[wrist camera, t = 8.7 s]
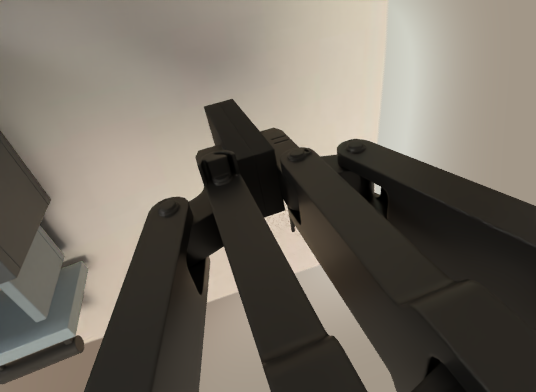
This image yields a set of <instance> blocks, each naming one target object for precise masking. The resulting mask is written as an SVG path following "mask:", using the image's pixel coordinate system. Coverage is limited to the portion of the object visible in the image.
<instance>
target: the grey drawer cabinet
mask: <svg viewBox="0 0 536 392" xmlns="http://www.w3.org/2000/svg"><path fill="white" fill-rule="evenodd" d="M50 201H51V199H50V198H49V197H48V195H47V194H46V192H45V191H44V190H43V188H42V187H41V186H40V184H39V183H38V182H37V180H36V179H35V178H34V176H33V175H32V173H31V172H30V171H29V169H28V168H27V167H26V165H25V164H24V163H23V161H22V160H21V159H20V157H19V156H18V155H17V153H16V152H15V150H14V149H13V148H12V146H11V145H10V144H9V142H8V141H7V140H6V138H5V137H4V136H3V134H2V133H1V131H0V284H3V283H5V282H8V281H11V280H14V279H16V278H17V277H18V275H19V272H20V270H21V267H22V265H23V263H24V260H25V258H26V256H27V254H28V251H29V249H30V247H31V244H32V242H33V240H34V237H35V235H36V233H37V230H38V228H39V226H40V223H41V221H42V219H43V216H44V214H45V212H46V209H47V207H48V205H49V203H50Z"/></svg>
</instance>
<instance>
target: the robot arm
mask: <svg viewBox="0 0 536 392" xmlns="http://www.w3.org/2000/svg"><path fill="white" fill-rule="evenodd" d="M204 109H205V112H206V116H207V119H208V123H209V126H210V129H211V133H212V136H213V140H214V143H215V146H213V147H210V148H206V149H203V150H200V151H198V153H197V155H196V161H197V165H198V168H199V171H200V174H201V177H202V180H203V183H204V189H203V191H202V192H201V194H200V195H198V196H197V197H196V198H194V199H193V200H191V201H189V202H188V200H186V199H185V198H182V197H171V198H168V199H164V200H162V201H160V202H158V203H157V204H156V205H154V206H153V207H152V208H151V210H150V211H149V213H148V216H147V219H146V222H145V224H144V227H143V230H142V233H141V235H140V238H139V241H138V244H137V246H136V249H135V252H134V255H133V257H132V260H131V263H130V266H129V269H128V271H127V274H126V277H125V280H124V282H123V285H122V288H121V291H120V293H119V296H118V299H117V302H116V304H115V307H114V310H113V313H112V315H111V318H110V321H109V324H108V327H107V329H106V332H105V335H104V338H103V340H102V343H101V347H100V349H99V351H98V354H97V357H96V360H95V363H94V365H93V368H92V371H91V374H90V377H89V379H88V382H87V385H86V387H85V390H84V392H199V382H200V372H201V360H202V349H203V337H204V326H205V315H206V304H207V292H208V281H209V270H210V258H209V255H211V254H213V253H214V252H216V251H217V250H219V249H220V248H222V247H224V248H225V251H226V254H227V257H228V260H229V263H230V266H231V269H232V272H233V275H234V279H235V282H236V285H237V288H238V291H239V294H240V297H241V300H242V303H243V306H244V309H245V312H246V315H247V319H248V322H249V325H250V327H251V331H252V334H253V337H254V340H255V343H256V346H257V349H258V352H259V356H260V358H261V362H262V365H263V368H264V372H265V375H266V378H267V381H268V384H269V387H270V390H271V392H367V390H366V388H365V387H364V385H363V383H362V381H361V379H360V377H359V376H358V374H357V372H356V370H355V369H354V367H353V365H352V363H351V362H350V360H349V358H348V356H347V355H346V353H345V351H344V349H343V348H342V346H341V345H340V343H339V341H338V340H337V339H336V338H335V337H334V336H329V335H328V334H327V332H326V331H325V330H324V327H323V326H322V324H321V322H320V320H319V318H318V316H317V315H316V313H315V311H314V309H313V307H312V306H311V304H310V302H309V300H308V298H307V296H306V294H305V293H304V291H303V289H302V287H301V285H300V283H299V281H298V280H297V278H296V276H295V274H294V272H293V270H292V269H291V267H290V265H289V263H288V261H287V259H286V257H285V256H284V254H283V252H282V250H281V248H280V246H279V245H278V243H277V241H276V239H275V237H274V235H273V233H272V232H271V230H270V228H269V226H268V224H267V222H266V221H265V219H264V217H267V216H270V215H273V214H276V213H279V212H282V211H285V207H284V201H285V203H286V204H287V206H288V212H289V218H290V224H291V229H292V232H295V228H294V227H295V226H296V228H297V229H298V231H299V232H300V234H301V235H302V237H303V238H304V240H305V241H306V243H307V245H308V246H309V248H310V249H311V251H312V252H313V254H314V255H315V257H316V259H317V260H318V262H319V263H320V265H321V266H322V268H323V269H324V271H325V272H326V274H327V275H328V277H329V279H330V280H331V281H332V283H333V285H334V286H335V288H336V289H337V291H338V293H339V294H340V296H341V297H342V298H343V300H344V302H345V303H346V305H347V306H348V308H349V310H350V311H351V313H352V314H353V315H354V317H355V319H356V320H357V322H358V323H359V325H360V327H361V328H362V330H363V331H364V333H365V334H366V336H367V337H368V339H369V340H370V342H371V344H372V345H373V346H374V348H375V350H376V351H377V353H378V354H379V356H380V357H381V359H382V361H383V362H384V363H385V365H386V367H387V368H388V370H389V372H390V374H391V376H392V379H393V381H394V385H395V388H396V391H397V392H536V206H534V205H531V204H529V203H527V202H524V201H521V200H519V199H516V198H514V197H511V196H509V195H506V194H503V193H501V192H498V191H496V190H493V189H491V188H488V187H486V186H483V185H480V184H478V183H475V182H473V181H470V180H467V179H465V178H462V177H460V176H457V175H455V174H452V173H450V172H447V171H444V170H442V169H439V168H437V167H434V166H432V165H429V164H427V163H424V162H421V161H418V160H416V159H414V158H411V157H409V156H406V155H403V154H401V153H398V152H396V151H393V150H391V149H388V148H385V147H383V146H380V145H378V144H375V143H373V142H370V141H367V140H360V139H353V140H352V139H351V140H348V141H345V142H343V143H341V144H340V145H338V147H337V155H331V156H321V157H320V156H319V155H318V154H317V153H316V152H315V151H313V150H311V149H310V148H304V147H301V148H299V147H298V146H297V145H296V144H295V143H294V142H293V141H292V140H291V139H290V138H289V137H288V136H287V135H286V134H285V133H284V132H283V131H282V130H279V129H276V128H271V129H268V130H264V131H261V132H260V131H259V130H258V129H257V128H256V126H255V125H254V124H253V123H252V122H251V120H250V119H249V118H248V117H247V116H246V114H245V113H244V112H243V111H242V110H241V109H240V107H239V106H238V105H237V104H236V103H235V101H234V100H233V99H230V100H226V101H223V102H219V103H215V104H212V105H208V106H204ZM374 183H375V184H377V185H379V186H381V194H380V195H379V194H377V193H375V192H374ZM283 200H284V201H283Z"/></svg>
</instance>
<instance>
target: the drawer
mask: <svg viewBox="0 0 536 392" xmlns="http://www.w3.org/2000/svg"><path fill="white" fill-rule="evenodd" d="M64 257H65V256H64V254H63V253H62V252H61V251H60V249H59V248H58V247H57V246H56V244H55V243H54V242H53V241H52V239H51V238H50V237H49V236H48V234H47V233H46V232H45V231H44V230H43V228H42V227H41V226H39V228H38V230H37V233H36V235H35V237H34V240H33V242H32V244H31V247H30V249H29V251H28V254H27V256H26V258H25V260H24V263H23V265H22V267H21V270H20V272H19V275H18V277H17V278H16V279H14V280H11V281H8V282H5V283H3V284H0V289H1V290H0V384H5V383H7V382H9V381H12V380H15V379H17V378H20V377H22V376H25V375H27V374H30V373H32V372H35V371H37V370H40V369H42V368H45V367H47V366H50V365H52V364H55V363H57V362H59V361H62V360H64V359H67V358H69V357H72V356H74V355H77V354H79V353H82V352H83V350H84V342H83V339H82V337H81V336H76V331H77V325H78V320H79V315H80V310H81V304H82V299H83V294H84V288H85V283H86V278H87V273H88V268H87V266H86V265H85V264H84V263H83V261H80V262H77V263H75V264H72V265H69V266H66V267H64V268H61V267H62V263H63V261H64ZM59 342H60V343H59ZM54 344H55V345H54ZM16 359H17V360H16Z"/></svg>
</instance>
